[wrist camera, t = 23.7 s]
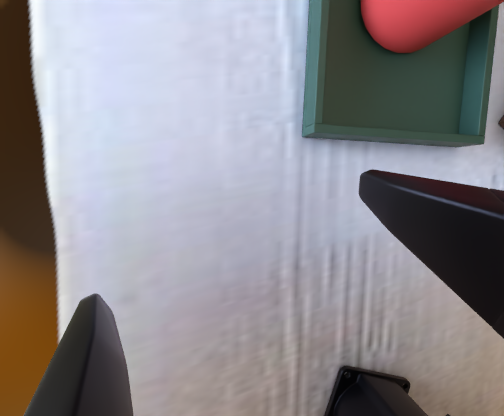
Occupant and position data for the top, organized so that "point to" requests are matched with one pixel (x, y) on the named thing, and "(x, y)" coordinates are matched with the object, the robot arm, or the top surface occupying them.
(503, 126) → the can rack
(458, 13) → the beer can
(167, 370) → the top surface
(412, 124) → the tray
